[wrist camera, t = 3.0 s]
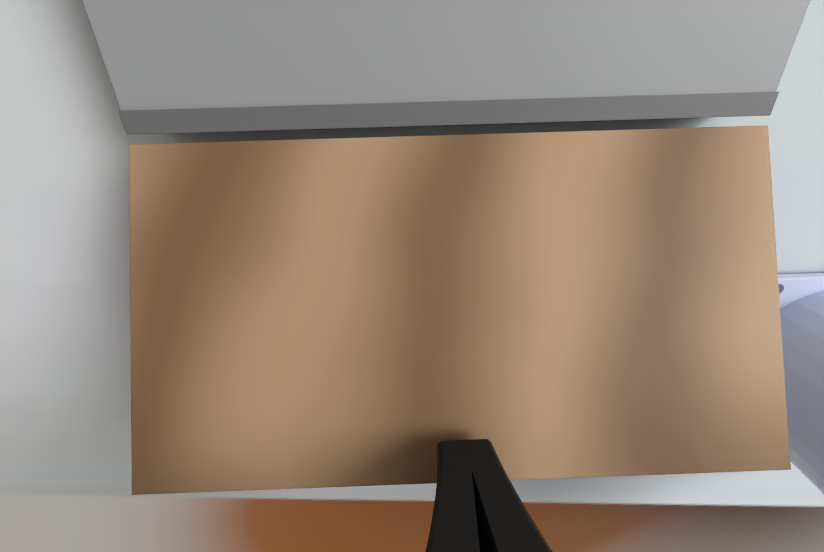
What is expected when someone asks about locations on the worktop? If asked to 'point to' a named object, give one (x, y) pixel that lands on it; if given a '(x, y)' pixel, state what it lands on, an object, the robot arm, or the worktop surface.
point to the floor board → (438, 61)
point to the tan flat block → (453, 307)
